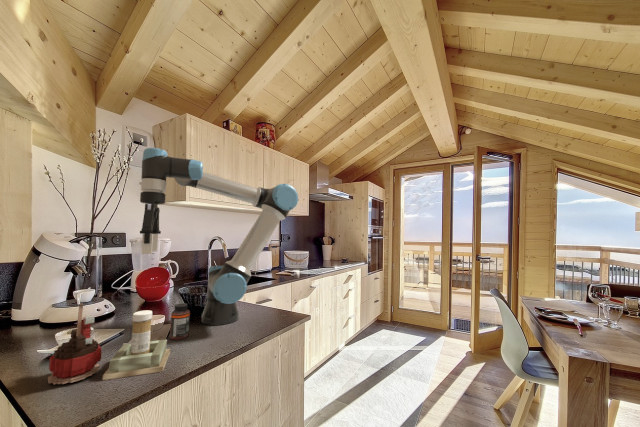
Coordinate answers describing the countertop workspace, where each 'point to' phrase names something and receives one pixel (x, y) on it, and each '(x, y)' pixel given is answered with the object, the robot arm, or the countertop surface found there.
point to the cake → (76, 354)
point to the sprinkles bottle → (141, 332)
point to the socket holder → (138, 361)
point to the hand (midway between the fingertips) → (150, 252)
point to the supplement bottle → (179, 322)
